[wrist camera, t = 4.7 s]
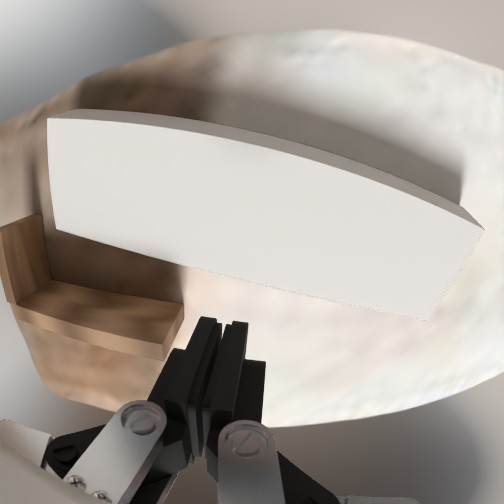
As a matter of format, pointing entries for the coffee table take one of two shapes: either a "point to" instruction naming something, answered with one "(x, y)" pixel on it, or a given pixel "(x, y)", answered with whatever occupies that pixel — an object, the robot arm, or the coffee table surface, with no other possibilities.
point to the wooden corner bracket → (80, 300)
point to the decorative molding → (256, 209)
